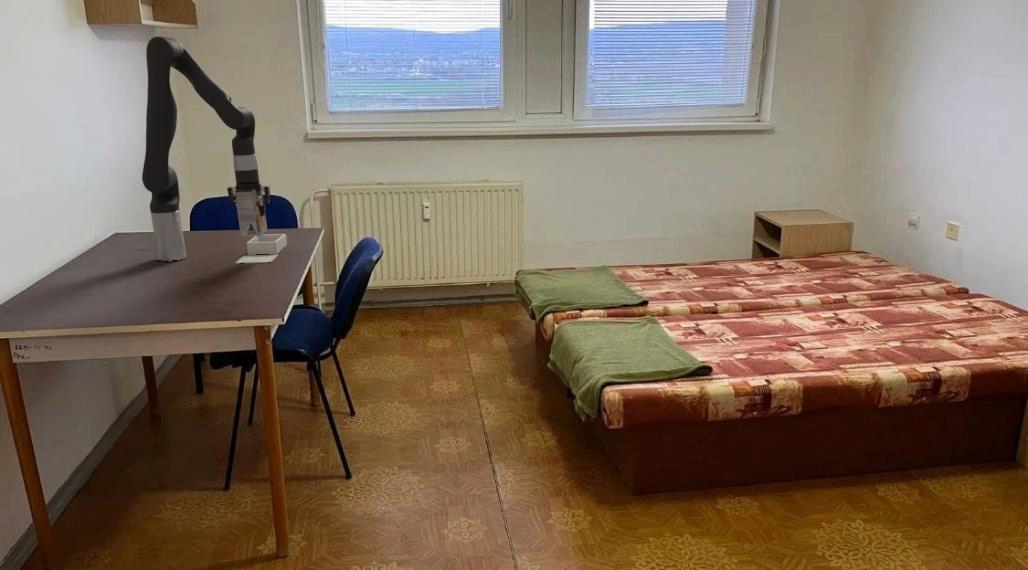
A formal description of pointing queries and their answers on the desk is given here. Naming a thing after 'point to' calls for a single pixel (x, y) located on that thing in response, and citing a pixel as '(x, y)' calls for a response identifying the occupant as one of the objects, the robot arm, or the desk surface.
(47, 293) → the desk surface
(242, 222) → the coffee box
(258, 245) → the bin
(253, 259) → the mat
